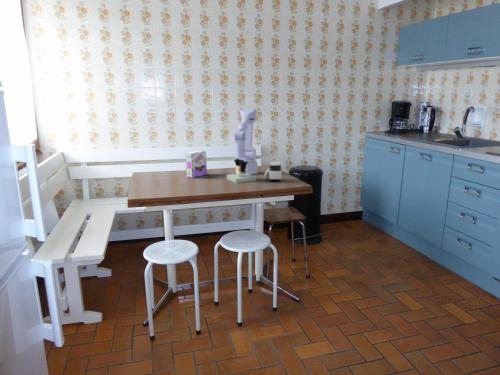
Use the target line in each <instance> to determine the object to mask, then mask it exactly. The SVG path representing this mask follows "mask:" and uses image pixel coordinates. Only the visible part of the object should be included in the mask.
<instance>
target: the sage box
mask: <svg viewBox="0 0 500 375" xmlns="http://www.w3.org/2000/svg"><path fill="white" fill-rule="evenodd" d="M226 180H229V181H230V182H233V183H235V184H239V183H247V182H256V181H257V176H255V175H254V174H248V173H246V174H242V175H238V174H236V173H233V174H226Z"/></svg>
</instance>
